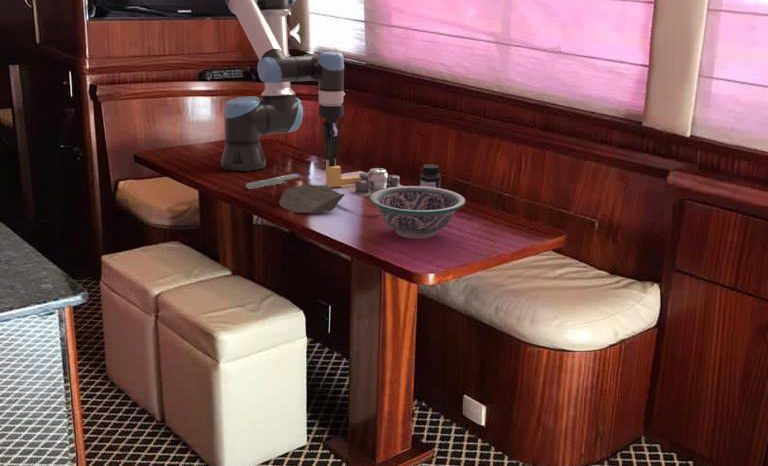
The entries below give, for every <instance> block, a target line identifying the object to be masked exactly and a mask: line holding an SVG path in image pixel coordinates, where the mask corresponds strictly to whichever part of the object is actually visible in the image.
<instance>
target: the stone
mask: <svg viewBox="0 0 768 466" xmlns="http://www.w3.org/2000/svg"><path fill="white" fill-rule="evenodd" d="M344 196H346V195H345V193H339V191H337V190H333V188H332V187H327V186H326V185H315V184H307V185H301V186H292V187H287V188H286V189H285V190H284V191H282V194H281V197H280V198H279V201H278V204H279V206H280V208H281V207H283V208H286V209H288V210H291V211H293V212H292V213H294V212H296V214H299V213H304V214H309V213H310V214H311V213H313V214H315V213H323V212H330V211H331V212H332V210H334V209H336V207H337V205H338V204H339V202H340V201H341V200H342V199H343V198H344Z"/></svg>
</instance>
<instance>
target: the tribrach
mask: <svg viewBox="0 0 768 466" xmlns="http://www.w3.org/2000/svg"><path fill="white" fill-rule="evenodd" d="M361 173H366V172H364V171H362V170H359V171H352V172H346V173H341V178H345V177H357V176H359V174H361ZM367 173H368V181H367V180H356V181H355V184H352V185H341V186H340V188H343V189H346V190H349V191H350V192H354V193H355V194H358V195H361V196H363V197H367V196H370V195H371V194H372V193H374V192H376V191H378V190H381V189H385V188H391V187H399V186H403V185H402V184H400V179H401V178H400V175H398V174H397V175H396V174H388V171H387V169H385V168H382V167H381V168H380V167H374V168H370V169H369V171H367ZM317 178H318V179H320V180H322V181H325V182H326V175H325V176H320V177H317Z"/></svg>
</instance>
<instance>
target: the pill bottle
mask: <svg viewBox="0 0 768 466" xmlns="http://www.w3.org/2000/svg"><path fill="white" fill-rule="evenodd" d="M439 169H440V167H439V165H437V164H423V166H422V173H421V174H420V177H419V186H425V187H434V188H441V180H442V176H441V174H440V173H439Z"/></svg>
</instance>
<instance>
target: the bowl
mask: <svg viewBox="0 0 768 466" xmlns="http://www.w3.org/2000/svg"><path fill="white" fill-rule="evenodd" d="M369 202H370V203H371V204H372V205H373V206H375V207H377V208H378V211H379V213H380V215H381V216H382V218H383V220H384V223H386V224H387V225H388V226H389V227H390V228H391V229H393V230H395V233H396V234H397V235H398V236H399V237H403V238H406V239H414V240H424V239H429V238H433V237H434V236H436V235H437V232H438V231H440V230H442V229H444V228H445V227H446V226H447V225H448V224H449V222H450V221H451V220H452V218H453V216H454V214H455V212H456V211H457V210H459V209H461V208H462V207H464V206H465V204H466V198H465V197H464V196H463V195H461V194H460V193H457V192H455V191H452V190H449V189H446V188H441V187H440V188H434V187H425V186H420V185H402V186H399V187H391V188H385V189H381V190H378V191H376V192H374V193H372V194H371V195H369Z"/></svg>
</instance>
